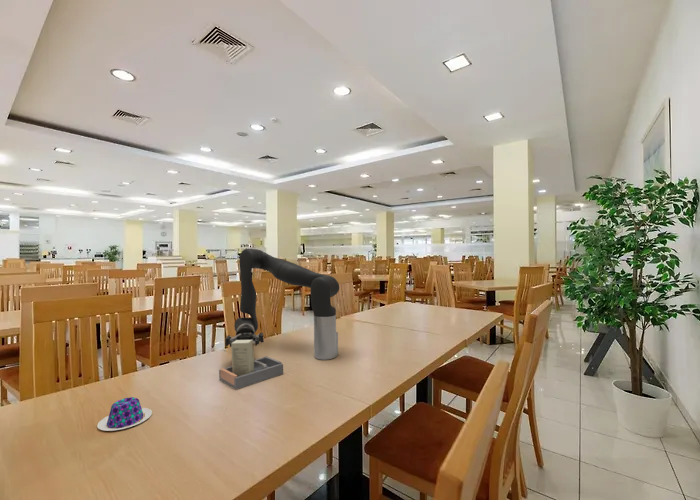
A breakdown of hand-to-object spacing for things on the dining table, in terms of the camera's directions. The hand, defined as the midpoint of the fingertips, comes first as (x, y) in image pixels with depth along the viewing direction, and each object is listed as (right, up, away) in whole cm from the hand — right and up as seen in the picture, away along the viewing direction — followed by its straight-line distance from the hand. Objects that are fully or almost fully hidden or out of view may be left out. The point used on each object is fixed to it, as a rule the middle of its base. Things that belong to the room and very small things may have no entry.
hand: (244, 343), depth 124 cm
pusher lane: (+5, -9, -8) cm, 13 cm away
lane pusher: (+7, -8, -6) cm, 12 cm away
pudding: (-20, -10, -36) cm, 43 cm away
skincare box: (+3, -9, -10) cm, 13 cm away
